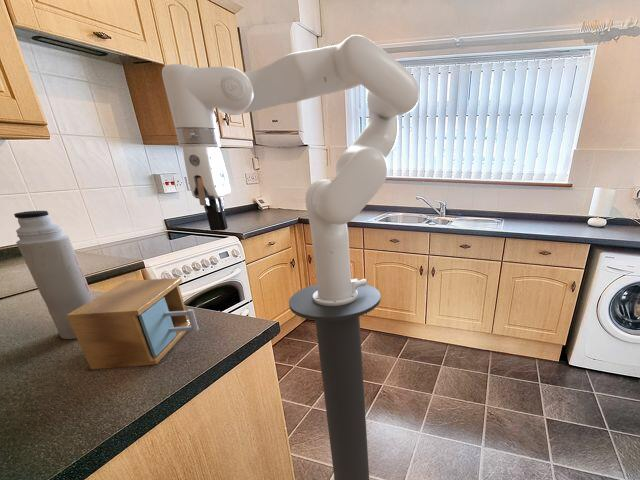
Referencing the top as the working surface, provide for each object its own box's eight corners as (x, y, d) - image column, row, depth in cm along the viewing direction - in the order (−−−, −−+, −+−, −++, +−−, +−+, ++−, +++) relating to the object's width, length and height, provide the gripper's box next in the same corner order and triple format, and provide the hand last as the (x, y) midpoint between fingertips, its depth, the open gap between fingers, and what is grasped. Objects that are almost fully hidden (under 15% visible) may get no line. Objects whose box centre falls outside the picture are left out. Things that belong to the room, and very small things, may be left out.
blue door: (203, 333, 76) (192, 295, 73) (186, 354, 68) (173, 313, 65) (173, 335, 76) (161, 297, 72) (152, 357, 68) (137, 315, 64)
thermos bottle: (102, 319, 86) (56, 207, 74) (106, 330, 80) (57, 211, 69) (60, 330, 81) (4, 211, 69) (61, 342, 75) (0, 216, 64)
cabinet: (194, 323, 84) (181, 277, 79) (156, 364, 67) (137, 310, 63) (142, 326, 82) (125, 280, 77) (90, 369, 66) (65, 314, 61)
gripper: (204, 137, 62) (225, 236, 69) (230, 140, 75) (246, 222, 83) (160, 137, 61) (187, 238, 68) (195, 140, 74) (214, 223, 82)
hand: (219, 229), depth 75 cm, fingers closed
